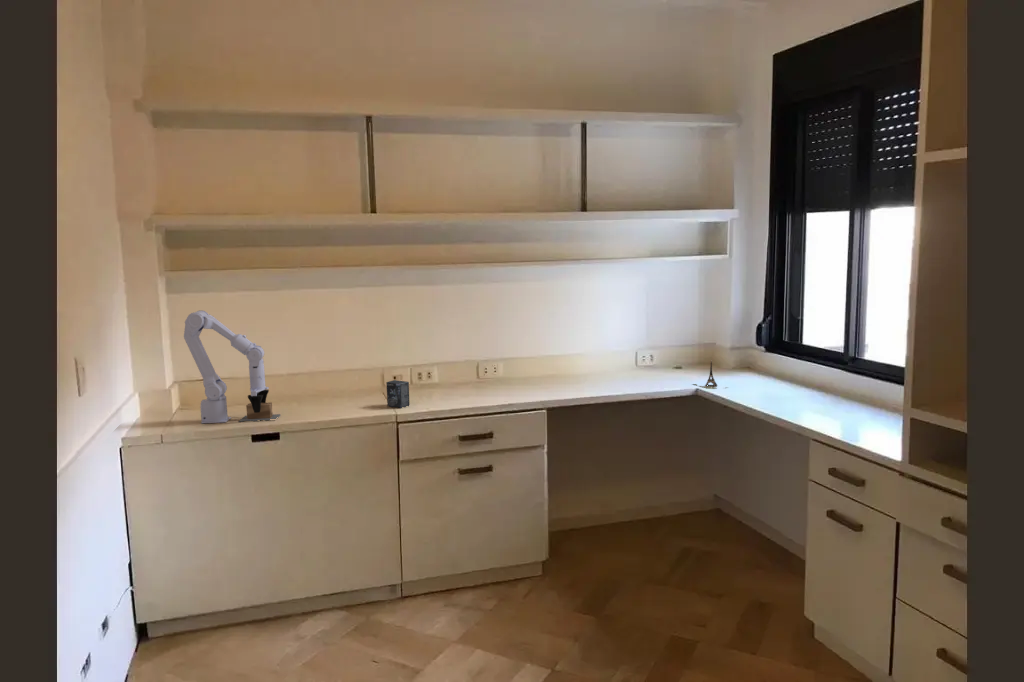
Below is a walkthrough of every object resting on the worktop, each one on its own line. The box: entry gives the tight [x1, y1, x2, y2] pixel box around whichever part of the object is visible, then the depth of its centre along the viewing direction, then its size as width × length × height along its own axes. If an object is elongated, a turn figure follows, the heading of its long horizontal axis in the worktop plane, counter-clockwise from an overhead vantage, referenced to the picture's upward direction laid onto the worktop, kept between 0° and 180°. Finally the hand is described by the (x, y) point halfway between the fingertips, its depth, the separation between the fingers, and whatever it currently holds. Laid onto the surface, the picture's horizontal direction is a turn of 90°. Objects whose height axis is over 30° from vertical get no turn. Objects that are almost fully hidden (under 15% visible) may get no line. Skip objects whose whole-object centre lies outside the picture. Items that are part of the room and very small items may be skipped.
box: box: [386, 379, 411, 409], centre depth 320 cm, size 8×6×11 cm
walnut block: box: [245, 401, 273, 419], centre depth 304 cm, size 4×9×6 cm, turn 95°
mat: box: [238, 413, 281, 423], centre depth 304 cm, size 14×9×1 cm, turn 94°
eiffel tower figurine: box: [692, 360, 729, 390], centre depth 348 cm, size 15×10×13 cm
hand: (259, 410), depth 304 cm, fingers open, 7 cm apart
